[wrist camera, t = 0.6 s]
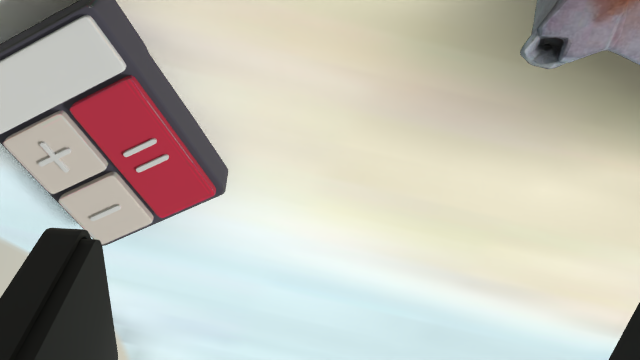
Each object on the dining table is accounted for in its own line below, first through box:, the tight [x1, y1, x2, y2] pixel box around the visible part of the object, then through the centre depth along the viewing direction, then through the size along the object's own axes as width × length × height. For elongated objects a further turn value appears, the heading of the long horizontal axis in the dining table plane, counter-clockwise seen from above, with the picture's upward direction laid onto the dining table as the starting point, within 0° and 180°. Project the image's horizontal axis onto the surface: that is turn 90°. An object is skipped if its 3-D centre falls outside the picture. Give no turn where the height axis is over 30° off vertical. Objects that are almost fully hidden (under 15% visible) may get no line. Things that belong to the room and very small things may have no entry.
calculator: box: [0, 0, 228, 246], centre depth 37 cm, size 11×4×15 cm
